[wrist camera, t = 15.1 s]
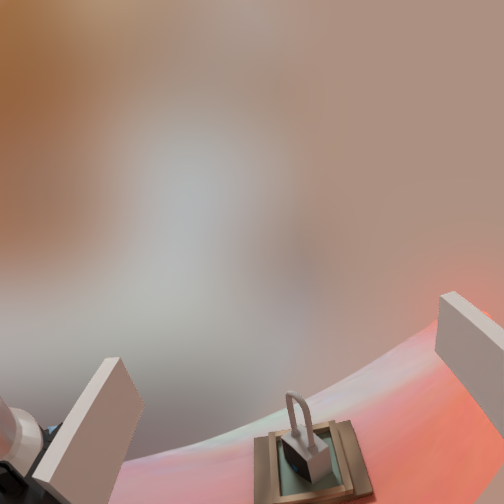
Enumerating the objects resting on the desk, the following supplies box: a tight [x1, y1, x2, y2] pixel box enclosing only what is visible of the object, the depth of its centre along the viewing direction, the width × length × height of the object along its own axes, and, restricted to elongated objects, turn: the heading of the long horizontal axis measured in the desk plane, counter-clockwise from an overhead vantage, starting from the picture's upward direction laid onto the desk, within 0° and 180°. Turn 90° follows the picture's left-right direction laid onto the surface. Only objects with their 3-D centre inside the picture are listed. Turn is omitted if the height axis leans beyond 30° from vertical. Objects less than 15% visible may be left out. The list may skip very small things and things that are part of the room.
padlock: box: [280, 391, 333, 485], centre depth 31 cm, size 7×4×15 cm, turn 30°
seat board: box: [254, 420, 373, 504], centre depth 33 cm, size 15×14×3 cm
